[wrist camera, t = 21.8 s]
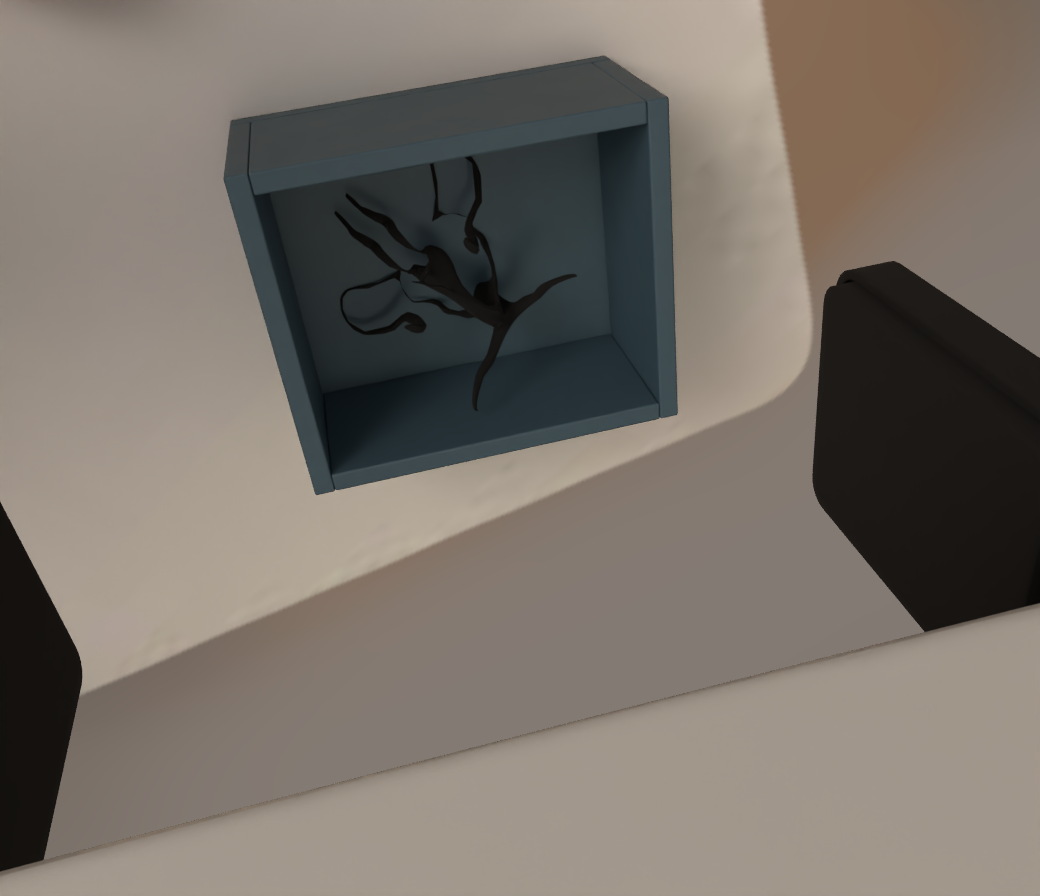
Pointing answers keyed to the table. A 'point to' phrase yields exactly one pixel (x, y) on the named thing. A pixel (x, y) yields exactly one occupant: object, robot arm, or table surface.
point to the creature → (450, 280)
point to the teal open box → (463, 264)
